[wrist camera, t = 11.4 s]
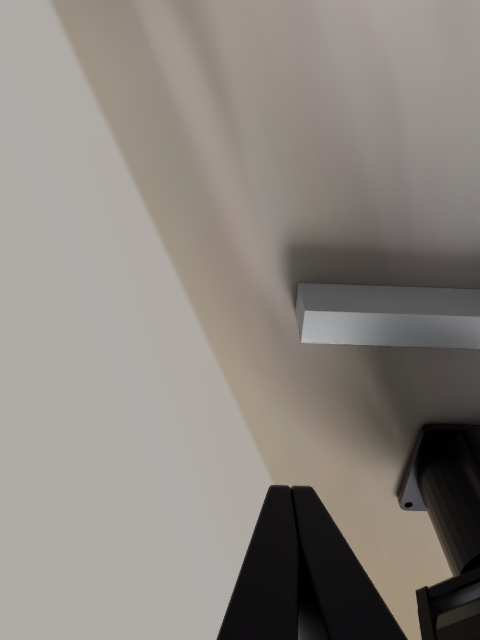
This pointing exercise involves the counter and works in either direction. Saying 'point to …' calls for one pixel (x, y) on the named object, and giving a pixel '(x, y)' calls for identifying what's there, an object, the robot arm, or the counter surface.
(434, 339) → the bay
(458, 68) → the counter surface
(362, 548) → the counter surface
